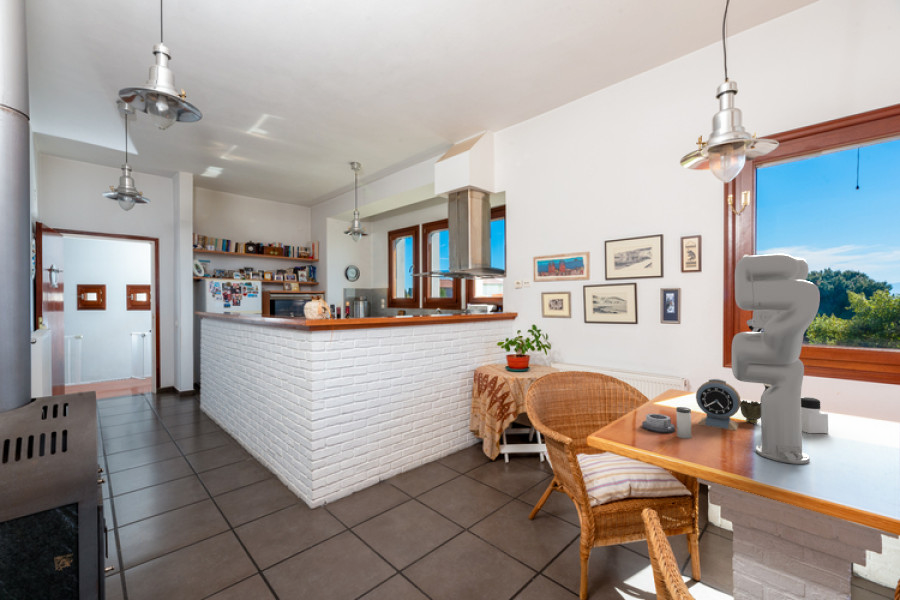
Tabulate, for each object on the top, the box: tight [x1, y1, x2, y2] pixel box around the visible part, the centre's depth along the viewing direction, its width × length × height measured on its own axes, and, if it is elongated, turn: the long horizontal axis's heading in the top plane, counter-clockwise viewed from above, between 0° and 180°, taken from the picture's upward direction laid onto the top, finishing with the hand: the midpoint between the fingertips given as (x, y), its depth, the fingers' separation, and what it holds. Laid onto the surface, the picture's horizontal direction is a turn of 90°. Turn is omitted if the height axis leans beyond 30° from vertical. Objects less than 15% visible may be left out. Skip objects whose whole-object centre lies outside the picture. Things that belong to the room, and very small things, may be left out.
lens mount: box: [641, 413, 676, 434], centre depth 145 cm, size 11×11×4 cm
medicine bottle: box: [801, 396, 829, 434], centre depth 140 cm, size 7×7×12 cm
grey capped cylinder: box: [675, 406, 692, 440], centre depth 136 cm, size 4×4×10 cm
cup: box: [739, 399, 761, 424], centre depth 150 cm, size 8×7×8 cm
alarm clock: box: [695, 378, 742, 432], centre depth 148 cm, size 14×10×18 cm
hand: (772, 344), depth 137 cm, fingers open, 9 cm apart
